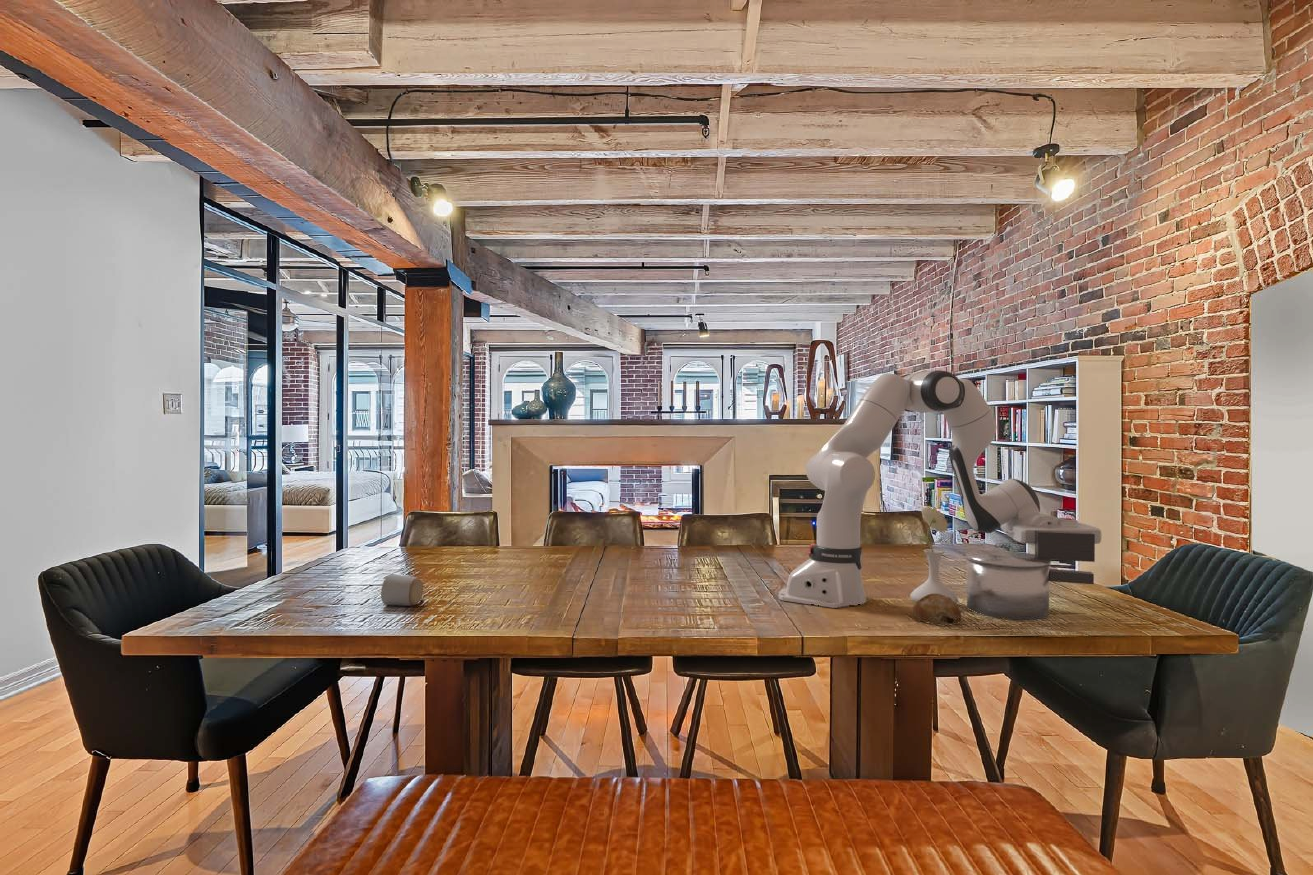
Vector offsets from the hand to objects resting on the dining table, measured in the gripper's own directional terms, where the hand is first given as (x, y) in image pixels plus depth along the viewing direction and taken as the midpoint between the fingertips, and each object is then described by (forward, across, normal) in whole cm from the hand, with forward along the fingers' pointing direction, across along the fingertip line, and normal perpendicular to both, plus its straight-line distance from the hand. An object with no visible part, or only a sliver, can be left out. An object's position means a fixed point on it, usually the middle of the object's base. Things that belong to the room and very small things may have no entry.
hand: (1074, 539), depth 164 cm
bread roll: (+7, -36, +18) cm, 41 cm away
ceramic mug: (-5, -166, +18) cm, 168 cm away
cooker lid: (-1, -11, +5) cm, 12 cm away
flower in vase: (-8, -31, +18) cm, 37 cm away
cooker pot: (0, -11, +18) cm, 21 cm away
